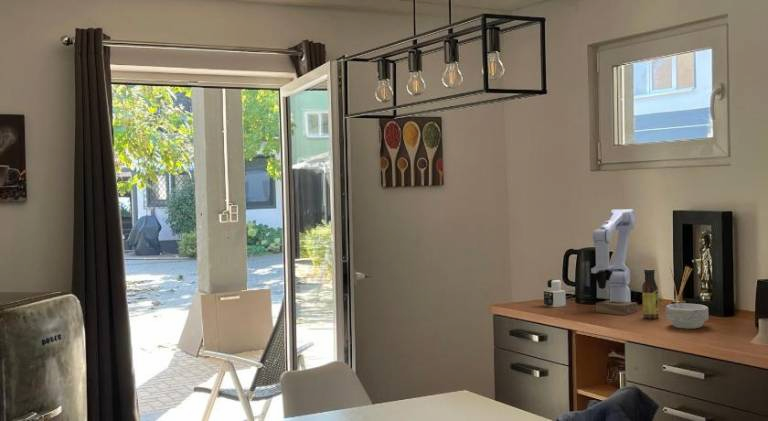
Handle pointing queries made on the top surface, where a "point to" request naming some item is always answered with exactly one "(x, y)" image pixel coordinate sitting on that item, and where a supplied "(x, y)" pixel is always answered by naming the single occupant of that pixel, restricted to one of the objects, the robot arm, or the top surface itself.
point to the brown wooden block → (616, 307)
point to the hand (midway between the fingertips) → (603, 288)
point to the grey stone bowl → (687, 315)
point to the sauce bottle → (650, 295)
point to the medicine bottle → (554, 294)
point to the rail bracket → (603, 291)
